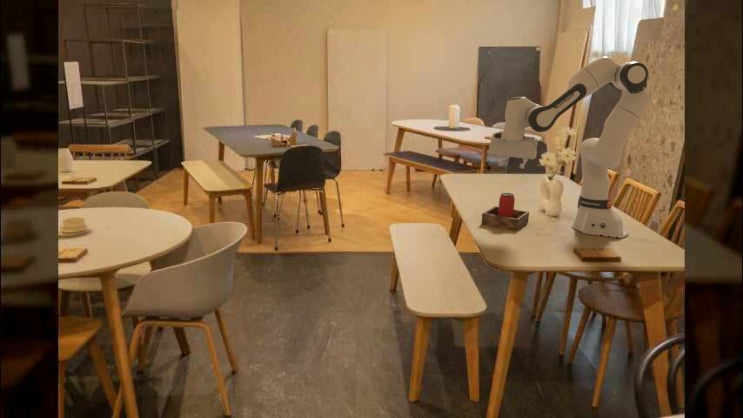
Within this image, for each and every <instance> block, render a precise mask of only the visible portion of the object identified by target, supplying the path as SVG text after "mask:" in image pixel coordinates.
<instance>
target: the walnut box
mask: <svg viewBox="0 0 743 418" xmlns="http://www.w3.org/2000/svg"><path fill="white" fill-rule="evenodd" d="M498 209H499V206H496V205H495V206H493V207H491V208H490V209H489V208H488V210H486V211H484V212H482V214H481V225H483V226H488V227H493V228H499V229H505V230H509V231H515V232H518V231H519V230H520V229H522V228H523V227H524V226H526V225H527V224H529V218H530V217H529V216H530V211H525V210H521V209H515V208H514V212H513V218H510V217H504V216H498Z"/></svg>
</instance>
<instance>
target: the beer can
mask: <svg viewBox="0 0 743 418" xmlns="http://www.w3.org/2000/svg"><path fill="white" fill-rule="evenodd" d="M515 200H516V199H515V195H514V194H513V193H511V192H501V193H500V196H499V200H498V207H499V209H498V216H504V217H510V218H513V212H514V209H515V203H516V202H515Z"/></svg>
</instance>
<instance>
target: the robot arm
mask: <svg viewBox="0 0 743 418" xmlns="http://www.w3.org/2000/svg"><path fill="white" fill-rule="evenodd" d="M648 78H649V69H648V68H647V66H646V65H645V64H644V63H643V62H639V61H627V62H623V63H621V64H617V63H616V62H615V60H614V59H613V58H611V57H609V56H601V57H599V58H596V59H594V60H593V61H591V62H589V63H588V64H586V65H585V66H583V67H581V69H579V70H578V71H576V72H575V74H574V75H572V76H571V77H570V78H569V79H568V80H569V81H568V86H567V89H566V90H565V91H564V92H563V93H562V94H561V95H560V96H558V97H556V99H554V100H552V102H550V103H548V104H547V105H543V106H542V105H540V104H537V103H535V102H533V101H532V100H530V99H528V98H527V97H526V96H514V97H512V98H510V99H508V101H507V103H506V107H505V113H504V120H505V123H504V126H503V130H499V131H496V132H493V133H492V135H491V138H492V139H491V140H490V143H489V146H488V153H489V155H490V156H491V155H492V156H496V160H497V162H498V163H497V164H498V167H503V166H504V161H502V159H501V158H502V157H510V158H515V159H516V158H518V159H522V161H523V163H520V164H519V169H521V170H522V169H525V165H526V164H527V162H528V160H534V159H536V157H537V155H538V152H537V151H538V150H537V148H538V146H539V145H538V144H539V141H538V139H537V138H536V137H534V136H526V127H530V128H531V129H532V130H533V131H535V132H537V133H544V132H547V131H550V129H552V127H553V126H554V125H555V122H556V121H557V120H558V118H559V117H560V116H562V115H563V114H565V113H566V112H567V111H568V110H570V109H571V108H572V107H573V106H575V105H576V104H577V103H578V102H581V100H583V99H585V98H587V97H590V96H591V95H592V94H594V93H595V92H597V91H598V90H600V89H601V88H602V87H604V86H605V85H607V84H609V85H610V86H611V87H613V88H614V89H616V90H619V91H621V97H620V99H619V100H618V102H617V103H616V105H615V106H614V107H613V109H612V111H611V112H610V114H609V115H608V116H607V117H606V119H605V121H604V124H603V125H604V126H603V130H602V132H601V135H600V137H590V138H587V139H585V140H583V141H582V142H581V143H580V146H579V149H578V151H579V154H580V158H581V173H582V174H581V176H582V179H581V188H580V195H579V196H578V199H577V213H576V215H575V219H574V222H573V223H572V226H571V227H572V228H573V229H574V230H576V231H579V232H581V234H586V235H593V236H600V235H603V237H608V236H610V237H609V238H616V237H618V239H623V238H625V237H627V236H628V235H629V231H628V229H627V228H624V220H623V218H622V216H621V215H619V214H618V213H617V212H616V211H615V210H614V209H613V208H612V207H613V200H610V199H609V198H608V197H609V192H610V191H609V190H610V184H611V179H610V176H609V171H608V169H613V168H615V167H617V166H619V165H620V163H621V162H622V159H623V150H624V148H625V145H626V143H627V140H628V138H629V136H630V134H631V133H632V131H633V130H634V128H635V127H636V125H637V124H638V122H639V121H640V119H642V117H643V115H644V113H645V112H646V109H647V108H648V105H649V103H650V102H651V95H650V92H648V90H646V88H647V85H648Z"/></svg>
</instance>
